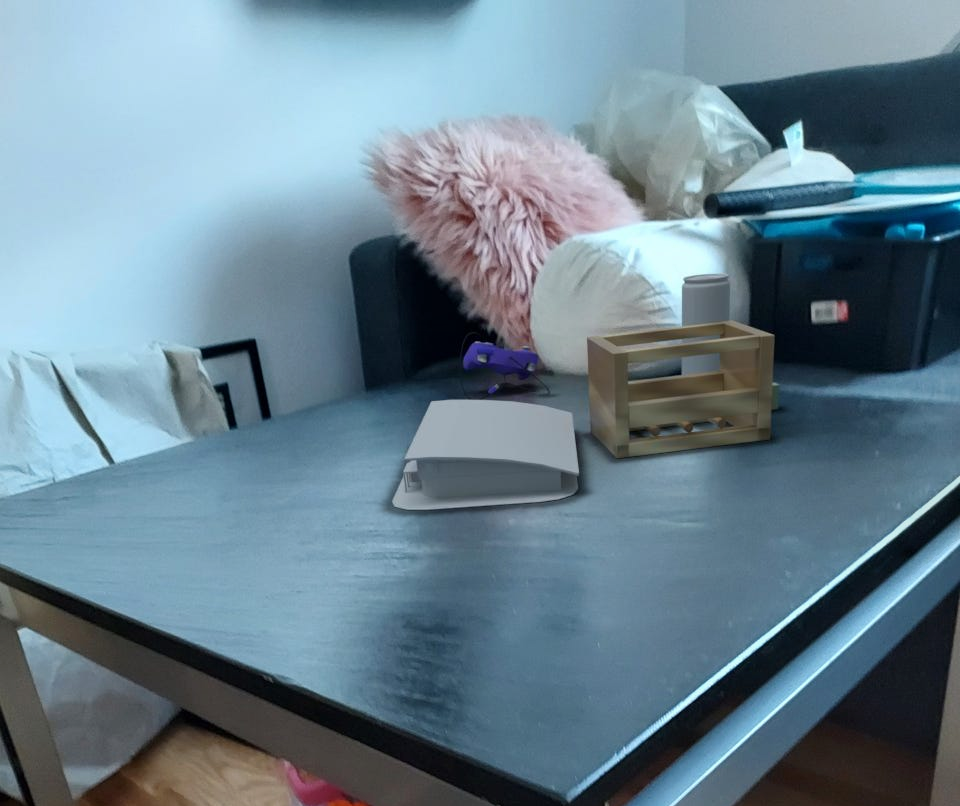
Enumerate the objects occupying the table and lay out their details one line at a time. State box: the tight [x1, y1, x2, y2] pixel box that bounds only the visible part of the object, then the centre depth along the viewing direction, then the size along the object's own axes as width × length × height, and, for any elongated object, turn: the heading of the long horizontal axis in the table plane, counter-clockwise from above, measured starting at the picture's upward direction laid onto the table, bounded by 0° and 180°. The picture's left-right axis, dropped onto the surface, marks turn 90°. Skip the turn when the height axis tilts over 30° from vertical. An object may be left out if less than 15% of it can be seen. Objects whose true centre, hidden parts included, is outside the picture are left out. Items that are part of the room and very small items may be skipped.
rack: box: [586, 319, 776, 459], centre depth 87 cm, size 14×10×9 cm
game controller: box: [459, 331, 551, 400], centre depth 112 cm, size 10×8×10 cm
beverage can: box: [681, 273, 731, 375], centre depth 100 cm, size 5×5×12 cm
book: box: [391, 399, 580, 511], centre depth 84 cm, size 15×23×4 cm, turn 177°
